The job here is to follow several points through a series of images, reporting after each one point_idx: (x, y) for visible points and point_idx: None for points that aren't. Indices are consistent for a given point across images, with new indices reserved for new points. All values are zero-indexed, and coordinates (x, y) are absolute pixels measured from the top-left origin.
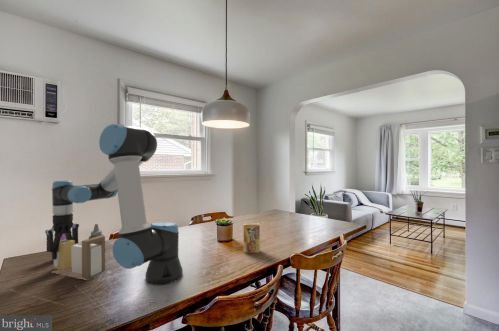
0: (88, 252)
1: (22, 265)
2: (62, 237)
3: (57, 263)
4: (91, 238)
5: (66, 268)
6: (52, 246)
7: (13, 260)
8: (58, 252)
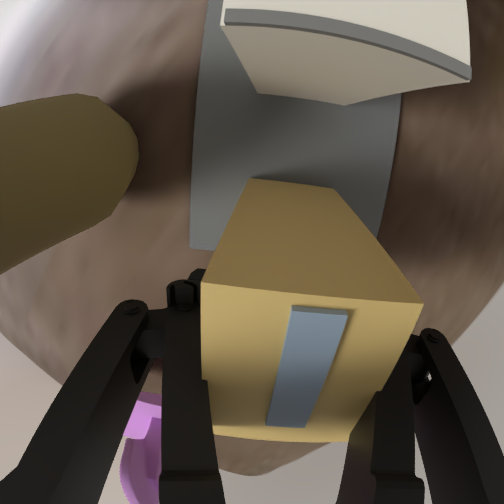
0: None
1: None
2: (149, 467)
3: None
4: None
5: (315, 187)
6: (446, 371)
7: (262, 466)
8: None
